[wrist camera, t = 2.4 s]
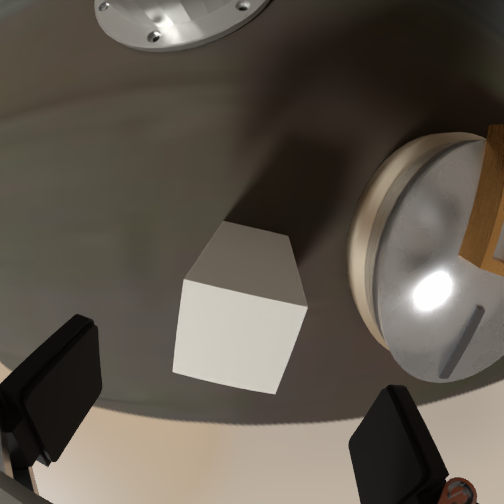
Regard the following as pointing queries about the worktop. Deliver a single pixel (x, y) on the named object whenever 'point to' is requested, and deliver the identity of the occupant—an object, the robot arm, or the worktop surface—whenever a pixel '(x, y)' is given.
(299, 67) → the worktop surface
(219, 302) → the white rectangular block
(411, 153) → the base
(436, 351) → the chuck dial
